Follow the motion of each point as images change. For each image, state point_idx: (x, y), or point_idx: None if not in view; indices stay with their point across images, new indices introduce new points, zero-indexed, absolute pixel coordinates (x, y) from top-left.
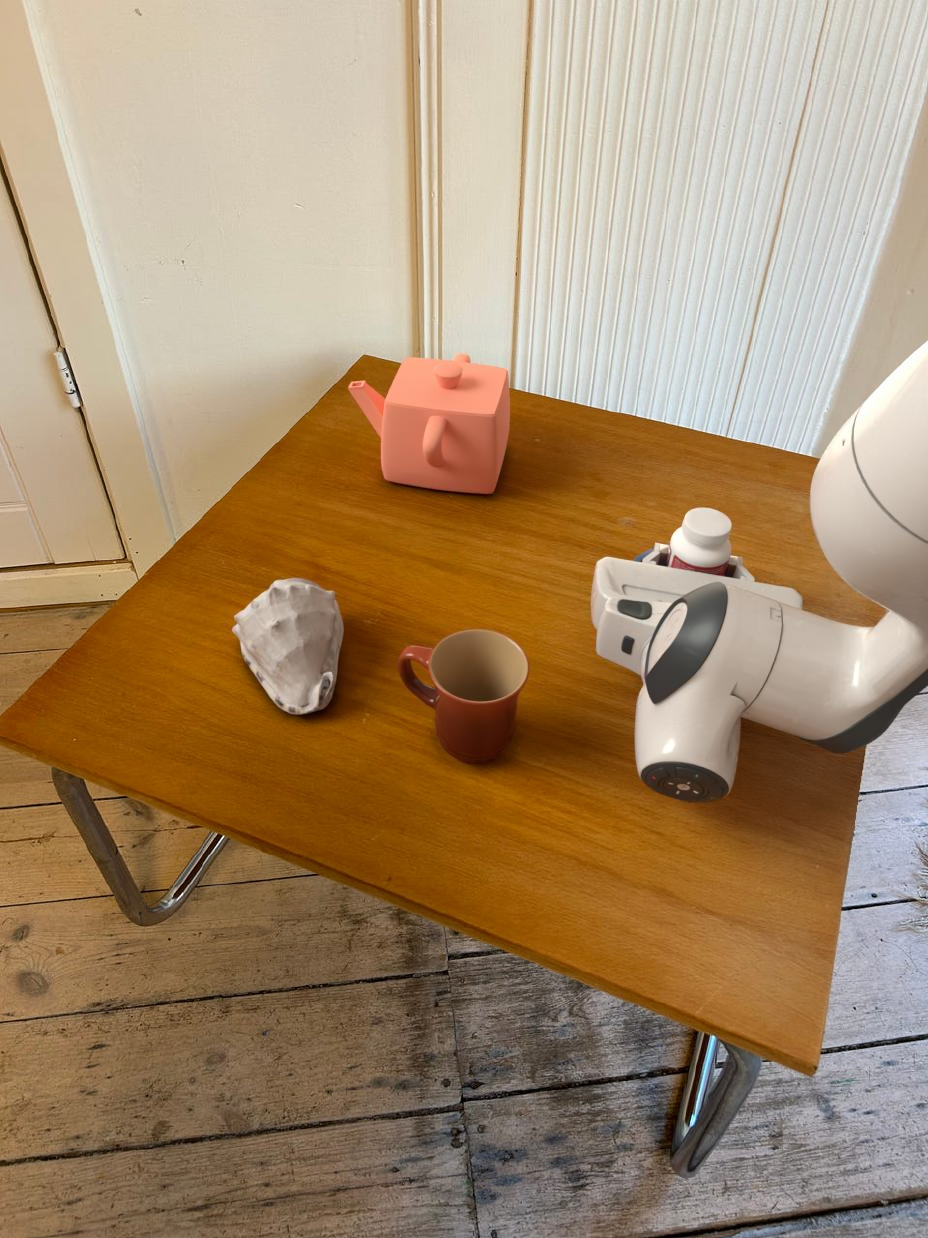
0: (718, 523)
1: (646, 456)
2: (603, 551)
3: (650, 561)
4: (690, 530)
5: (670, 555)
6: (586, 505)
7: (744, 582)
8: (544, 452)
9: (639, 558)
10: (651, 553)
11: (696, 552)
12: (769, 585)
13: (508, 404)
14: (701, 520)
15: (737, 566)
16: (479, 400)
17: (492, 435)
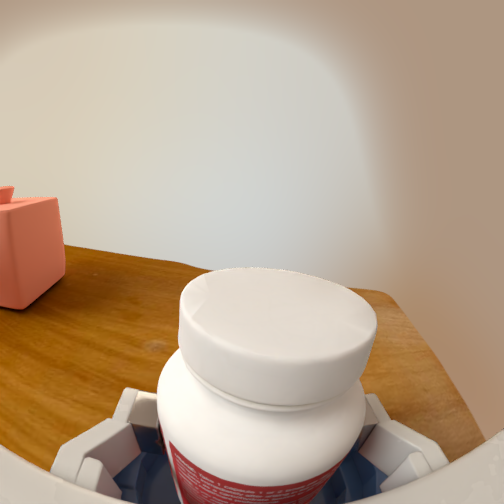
0: (323, 302)
1: None
2: (111, 386)
3: (83, 460)
4: (204, 343)
5: (163, 435)
6: (111, 327)
7: (448, 481)
8: (95, 282)
9: None
10: (99, 426)
11: (253, 440)
12: (492, 447)
13: (54, 228)
14: (253, 298)
15: (380, 426)
16: (10, 206)
17: (7, 236)
